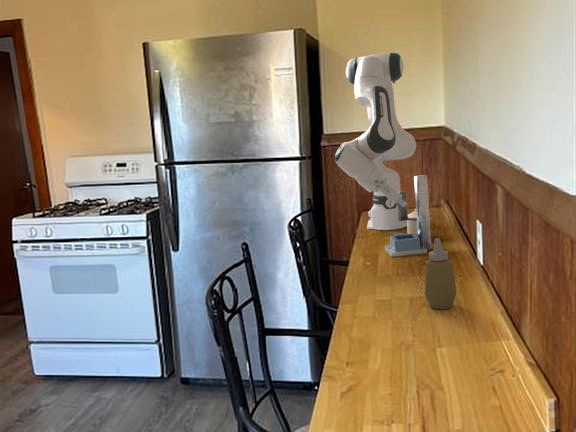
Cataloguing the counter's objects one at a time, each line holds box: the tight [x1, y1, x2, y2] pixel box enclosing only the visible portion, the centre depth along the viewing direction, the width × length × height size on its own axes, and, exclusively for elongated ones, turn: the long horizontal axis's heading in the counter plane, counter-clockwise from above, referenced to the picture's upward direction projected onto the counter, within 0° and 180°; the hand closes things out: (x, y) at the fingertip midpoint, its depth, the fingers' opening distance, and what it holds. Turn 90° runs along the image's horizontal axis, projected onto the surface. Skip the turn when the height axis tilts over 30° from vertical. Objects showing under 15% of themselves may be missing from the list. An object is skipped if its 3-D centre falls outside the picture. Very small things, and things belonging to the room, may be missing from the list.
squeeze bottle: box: [424, 237, 457, 310], centre depth 153 cm, size 8×8×18 cm
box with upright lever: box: [384, 174, 432, 258], centre depth 212 cm, size 18×15×26 cm
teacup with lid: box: [406, 208, 432, 236], centre depth 227 cm, size 12×9×12 cm
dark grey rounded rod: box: [397, 190, 409, 221], centre depth 209 cm, size 3×3×10 cm
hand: (403, 204), depth 208 cm, fingers closed on dark grey rounded rod, 3 cm apart
